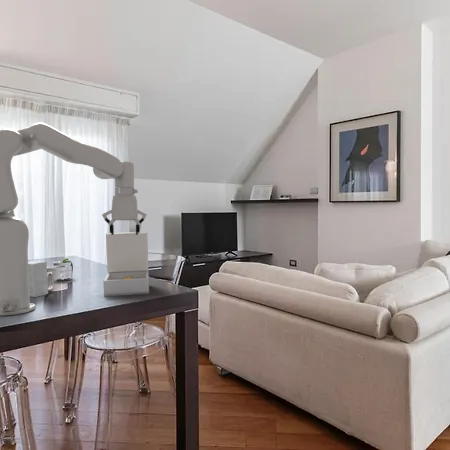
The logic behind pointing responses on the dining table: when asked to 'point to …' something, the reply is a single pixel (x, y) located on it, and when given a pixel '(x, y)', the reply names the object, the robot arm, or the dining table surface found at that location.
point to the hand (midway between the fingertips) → (124, 234)
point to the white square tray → (126, 283)
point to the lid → (127, 252)
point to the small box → (37, 278)
